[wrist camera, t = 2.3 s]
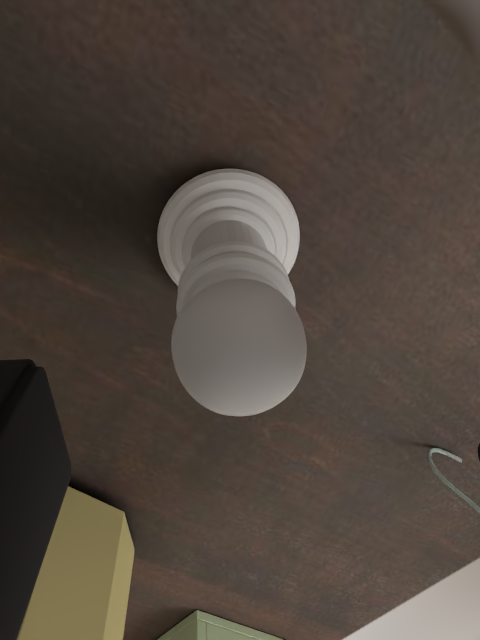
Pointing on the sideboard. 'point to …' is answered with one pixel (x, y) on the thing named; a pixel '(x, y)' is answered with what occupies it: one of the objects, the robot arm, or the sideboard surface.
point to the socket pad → (212, 629)
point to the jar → (82, 575)
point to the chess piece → (233, 291)
